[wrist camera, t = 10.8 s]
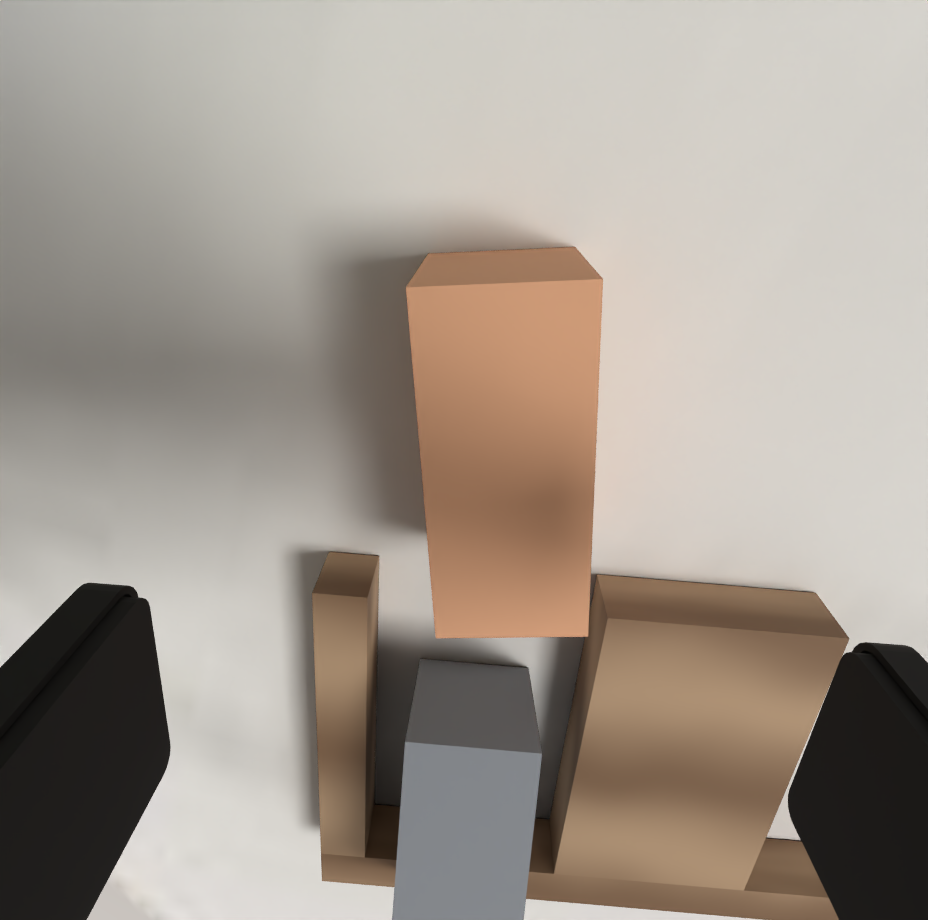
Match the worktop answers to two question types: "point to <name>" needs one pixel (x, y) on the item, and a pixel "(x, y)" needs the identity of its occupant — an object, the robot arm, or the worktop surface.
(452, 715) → the grey stub
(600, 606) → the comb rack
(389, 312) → the worktop surface
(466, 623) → the terracotta stub
